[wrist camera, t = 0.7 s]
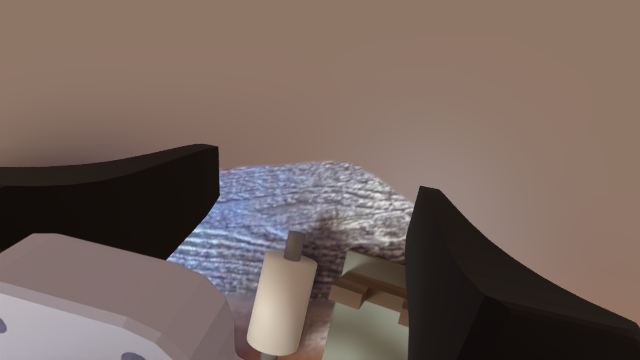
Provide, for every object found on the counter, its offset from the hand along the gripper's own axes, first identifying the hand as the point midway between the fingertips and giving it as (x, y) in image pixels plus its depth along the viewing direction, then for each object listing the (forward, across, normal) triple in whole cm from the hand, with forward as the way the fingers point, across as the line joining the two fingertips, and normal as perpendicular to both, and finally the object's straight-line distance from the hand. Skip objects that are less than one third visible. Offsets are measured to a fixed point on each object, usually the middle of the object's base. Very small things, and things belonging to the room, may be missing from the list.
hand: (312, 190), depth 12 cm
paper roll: (+13, +4, +20) cm, 24 cm away
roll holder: (+12, -5, +22) cm, 26 cm away
